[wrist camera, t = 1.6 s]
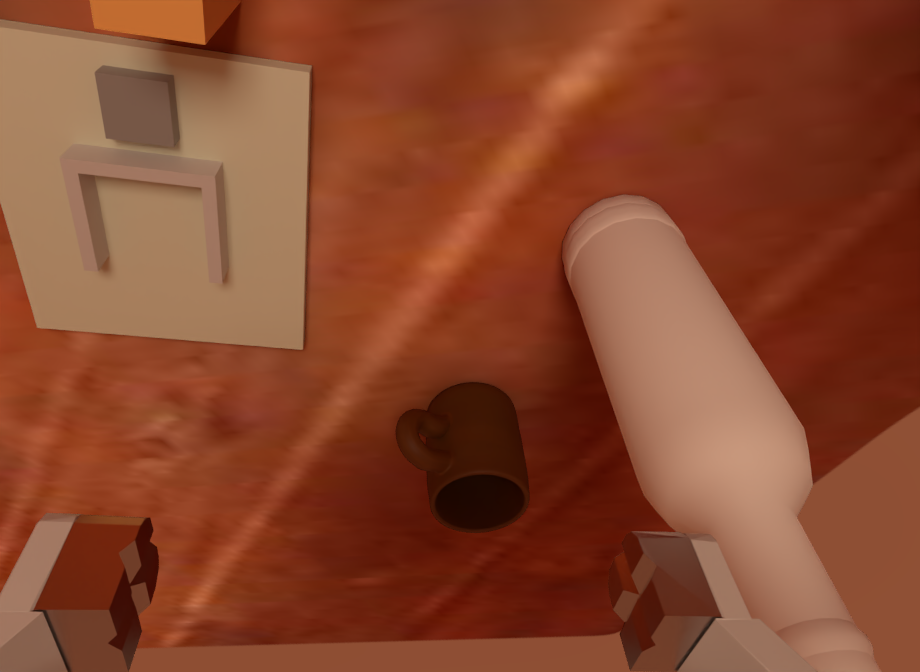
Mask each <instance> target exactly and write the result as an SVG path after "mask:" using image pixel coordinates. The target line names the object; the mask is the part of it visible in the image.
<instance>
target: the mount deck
mask: <svg viewBox="0 0 920 672" xmlns="http://www.w3.org/2000/svg"><path fill="white" fill-rule="evenodd" d="M311 88H312V66H310V65H304V64H297V63H290V62H283V61H277V60H270V59H263V58H257V57H250V56H243V55H236V54H230V53H223V52H216V51H210V50H203V49H196V48H189V47H183V46H176V45H169V44H163V43H156V42H149V41H142V40H136V39H129V38H122V37H116V36H109V35H102V34H95V33H89V32H82V31H75V30H69V29H62V28H55V27H48V26H42V25H35V24H28V23H22V22H15V21H8V20H1V19H0V203H1V206H2V209H3V213H4V216H5V220H6V223H7V226H8V230H9V233H10V237H11V240H12V243H13V247H14V250H15V254H16V257H17V260H18V264H19V267H20V271H21V274H22V277H23V281H24V284H25V288H26V291H27V294H28V298H29V301H30V305H31V308H32V311H33V315H34V318H35V322H36V325H37V328H47V329H58V330H70V331H82V332H94V333H106V334H118V335H130V336H142V337H154V338H166V339H178V340H190V341H202V342H214V343H226V344H238V345H250V346H262V347H274V348H286V349H298V350H303V347H304V341H305V314H306V276H307V238H308V201H309V163H310V126H311Z"/></svg>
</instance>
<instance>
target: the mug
mask: <svg viewBox="0 0 920 672" xmlns="http://www.w3.org/2000/svg"><path fill="white" fill-rule="evenodd" d="M418 433H420V434H422V435H423V436H425V437H426V445H425V444H424V443H423V442H422V441H421V439H420V437H419V434H418ZM396 439H397V443H398V446H399V448H400V450H401V452H402V454H403V455H404V456H405V457H406V458H407V460H408V461H409V462H411V463H412V464H413V465H414V466H416V467H417V468H419V469H421V470H425V471H427V487H428V495H429V503H430V509H431V512H432V514H433V515H434V517H435V518H436V519H437V520H438V521H439V522H440V523H441V524H443V525H444V526H446V527H448V528H451V529H453V530H457V531H461V532H469V533H481V532H489V531H493V530H497V529H500V528H503V527H505V526H507V525H509V524H511V523H513V522H514V521H516V520H517V519H518V518H520V517H521V515H522V514H523V513H524V512H525V510H526V508H527V506H528V503H529V497H530V496H529V484H528V474H527V468H526V463H525V457H524V451H523V446H522V441H521V436H520V431H519V426H518V420H517V415H516V411H515V408H514V405H513V403H512V401H511V400H510V398H509V397H508V396H507V395H506V394H505V393H504V392H503V391H501V390H500V389H498V388H496V387H494V386H491V385H488V384H484V383H473V382H472V383H463V384H458V385H455V386H452V387H450V388H448V389H446V390H444V391H442V392H441V393H440V394H439V395H437V396H436V397H435V399H434V400H433V401H432V402H431V404H430V406H429V408H428V411H425V410H421V409H412V410H409V411H407V412H405V413H404V414H403V415H402V416H401V417H400V418H399V420H398V422H397V426H396Z"/></svg>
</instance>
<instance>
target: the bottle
mask: <svg viewBox="0 0 920 672" xmlns="http://www.w3.org/2000/svg"><path fill="white" fill-rule="evenodd" d="M562 261H563V264H564V271H565V274H566V277H567V280H568V283H569V285H570V288H571V290H572V293H573V295H574V297H575V299H576V302H577V304H578V307H579V310H580V313H581V316H582V319H583V322H584V325H585V328H586V331H587V334H588V337H589V340H590V342H591V345H592V348H593V351H594V354H595V357H596V360H597V363H598V366H599V369H600V372H601V375H602V378H603V380H604V383H605V386H606V389H607V392H608V395H609V398H610V401H611V404H612V407H613V410H614V413H615V416H616V418H617V421H618V424H619V427H620V430H621V433H622V436H623V439H624V442H625V445H626V448H627V451H628V454H629V456H630V459H631V462H632V465H633V468H634V471H635V474H636V477H637V480H638V482H639V485H640V487H641V490H642V492H643V495H644V496H645V497H646V499H647V500H648V501H649V503H650V504H651V505H652V507H653V508H654V509H655V510H656V511H657V513H658V514H659V515H660V516H661V517H662V518H663V519H664V520H665V521H666V523H667V524H668V525H669V526H670V527H671V528H673V529H674V530H675V531H677V532H681V533H706V534H711V535H712V536H713V537H714V538H715V539H716V541H717V543H718V545H719V548H720V550H721V552H722V554H723V556H724V559H725V561H726V563H727V565H728V567H729V569H730V572H731V574H732V576H733V578H734V580H735V583H736V585H737V587H738V589H739V591H740V594H741V596H742V598H743V600H744V602H745V605H746V607H747V609H748V611H749V613H750V615H751V618H755V619H760V620H761V621H763V622H764V623H765V624H766V625H767V626H768V627H769V628H770V629H771V630H772V631H774V632H775V633H776V634H777V635H778V636H779V637H780V638H781V639H782V640H783V641H785V642H786V643H787V644H788V645H789V646H790V647H791V648H792V649H793V650H794V651H796V652H797V653H798V654H799V655H800V656H801V657H802V658H803V659H804V660H805V661H807V662H808V663H809V664H810V665H811V666H812V667H813V668H814V669H815V670H816V671H818V672H881V670H880V668H879V667H878V665H877V663H876V661H875V659H874V654H873V646H872V644H871V642H870V640H869V639H868V637H867V635H865V634H864V633H863V632H862V631H861V630H860V629H859V628H858V627H857V626H856V624H855V623H854V621H853V619H852V617H851V615H850V613H849V612H848V610H847V608H846V606H845V604H844V603H843V601H842V599H841V597H840V595H839V594H838V592H837V590H836V588H835V587H834V584H833V582H832V581H831V579H830V577H829V575H828V573H827V571H826V570H825V568H824V566H823V564H822V562H821V560H820V559H819V557H818V555H817V553H816V551H815V549H814V548H813V546H812V544H811V542H810V540H809V539H808V537H807V535H806V533H805V531H804V529H803V528H802V526H801V524H800V522H799V520H798V518H797V516H798V515H799V513H800V511H801V509H802V507H803V505H804V503H805V502H806V499H807V497H808V495H809V493H810V491H811V489H812V486H813V482H812V474H811V466H810V458H809V451H808V445H807V440H806V435H805V431H804V427H803V426H802V424H801V423H800V421H799V420H798V418H797V416H796V415H795V413H794V412H793V410H792V409H791V407H790V405H789V404H788V402H787V401H786V399H785V398H784V396H783V394H782V393H781V391H780V390H779V388H778V387H777V385H776V383H775V382H774V380H773V379H772V377H771V376H770V374H769V372H768V371H767V369H766V368H765V366H764V365H763V363H762V361H761V360H760V358H759V357H758V355H757V354H756V352H755V350H754V349H753V347H752V346H751V344H750V343H749V341H748V339H747V338H746V336H745V335H744V333H743V332H742V330H741V328H740V327H739V325H738V324H737V322H736V321H735V319H734V317H733V316H732V314H731V313H730V311H729V310H728V308H727V306H726V305H725V303H724V302H723V300H722V299H721V297H720V295H719V294H718V292H717V291H716V289H715V288H714V286H713V284H712V283H711V281H710V280H709V278H708V277H707V275H706V273H705V272H704V270H703V269H702V267H701V266H700V264H699V262H698V261H697V259H696V258H695V256H694V254H693V253H692V251H691V250H690V248H689V247H688V245H687V243H686V241H685V238H684V236H683V234H682V232H681V231H680V229H679V228H678V227H677V226H676V224H675V223H674V222H673V221H672V220H671V218H670V217H669V216H668V214H667V213H666V212H665V211H664V210H663V208H662V207H661V206H660V205H659V204H658V203H656V202H653V201H651V200H649V199H647V198H645V197H643V196H633V195H619V196H615V197H611V198H607V199H603V200H601V201H599V202H597V203H596V204H594V205H592V206H590V207H589V208H587V209H585V210H584V211H583V212H582V213H581V214H580V215H579V216H578V217H577V218H576V219H575V220H574V221H573V223H572V224H571V225H570V227H569V229H568V231H567V233H566V235H565V238H564V240H563V244H562Z"/></svg>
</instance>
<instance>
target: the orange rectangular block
mask: <svg viewBox="0 0 920 672" xmlns="http://www.w3.org/2000/svg"><path fill="white" fill-rule="evenodd" d="M240 2H241V0H90V5H91V11H92V17H93V23H94V28H96V29H103V30H109V31H116V32H123V33H129V34H136V35H143V36H149V37H156V38H163V39H169V40H176V41H183V42H189V43H196V44H203V45H206V44H207V42H208V41H209V40H210V39H211V38H212V36H213V35H214V34H215V33H216V31H217V30H218V29H219V28H220V27H221V25H222V24H223V23H224V22H225V20H226V19H227V18H228V17H229V16H230V14H231V13H232V12H233V11H234V9H235V8H236V7H237V6H238V5H239V3H240Z"/></svg>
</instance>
